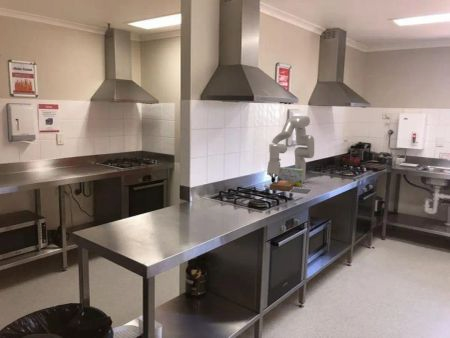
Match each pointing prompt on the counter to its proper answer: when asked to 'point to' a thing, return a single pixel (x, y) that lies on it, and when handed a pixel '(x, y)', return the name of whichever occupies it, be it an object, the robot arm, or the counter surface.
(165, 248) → the counter surface
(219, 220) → the counter surface
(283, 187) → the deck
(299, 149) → the robot arm
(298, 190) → the mat
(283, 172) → the snack box
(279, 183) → the tile
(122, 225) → the counter surface
